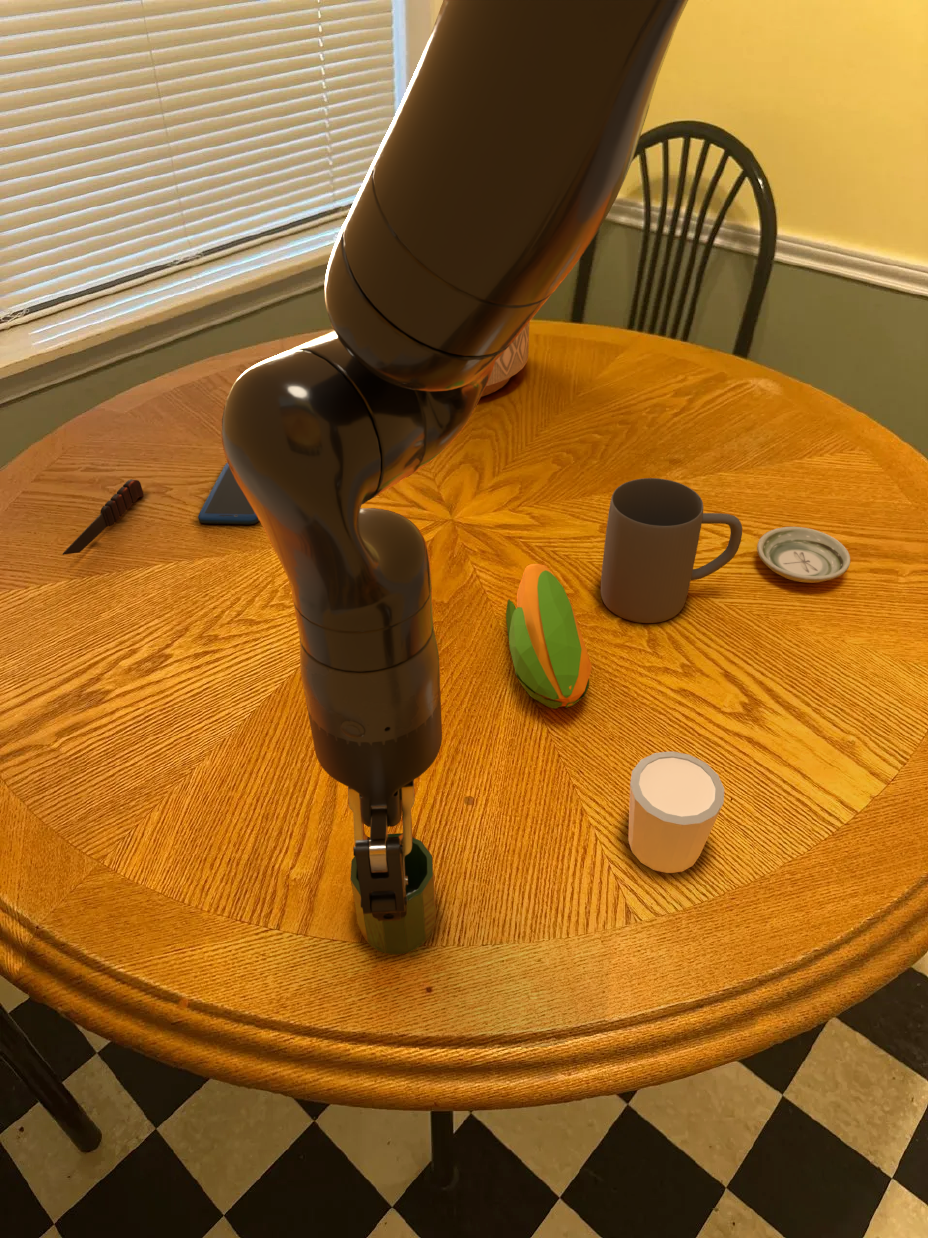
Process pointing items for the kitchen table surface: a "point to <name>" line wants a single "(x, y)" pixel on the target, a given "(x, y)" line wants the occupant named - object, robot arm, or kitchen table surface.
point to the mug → (656, 548)
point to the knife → (108, 514)
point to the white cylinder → (672, 810)
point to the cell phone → (227, 502)
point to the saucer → (803, 554)
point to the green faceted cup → (419, 906)
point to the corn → (547, 640)
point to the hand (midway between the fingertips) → (391, 856)
